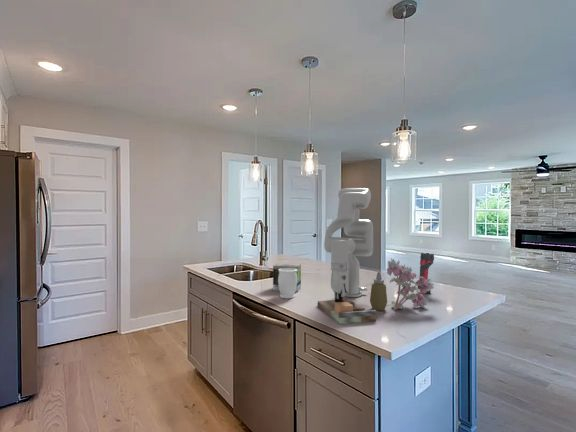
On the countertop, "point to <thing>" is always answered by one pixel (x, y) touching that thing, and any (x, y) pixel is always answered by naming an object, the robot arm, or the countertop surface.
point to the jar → (287, 282)
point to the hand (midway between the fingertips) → (338, 307)
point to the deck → (347, 317)
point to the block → (343, 307)
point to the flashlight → (425, 265)
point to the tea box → (278, 266)
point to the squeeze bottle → (378, 294)
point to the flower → (408, 285)
